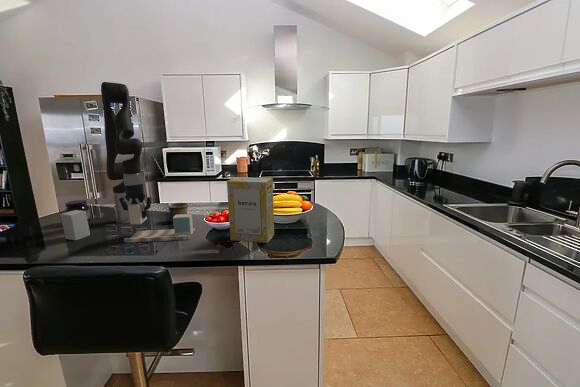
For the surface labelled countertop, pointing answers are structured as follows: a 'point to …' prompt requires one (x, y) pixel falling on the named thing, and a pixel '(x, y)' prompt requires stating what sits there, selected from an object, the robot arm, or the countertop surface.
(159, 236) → the shelf
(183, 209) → the ceramic cup
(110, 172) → the robot arm
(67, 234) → the supplement box
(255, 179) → the pasta box
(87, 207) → the supplement container
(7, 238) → the countertop surface
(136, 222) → the carton
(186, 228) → the faced carton
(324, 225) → the countertop surface
